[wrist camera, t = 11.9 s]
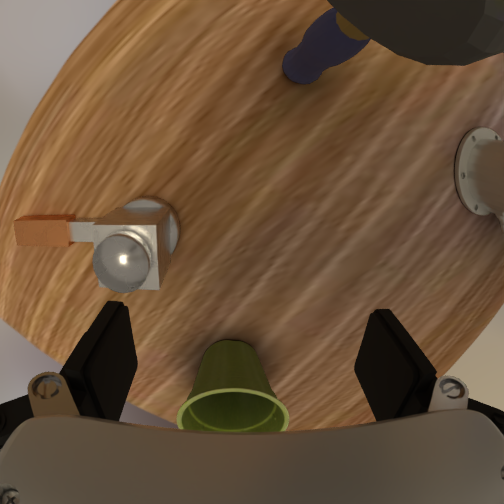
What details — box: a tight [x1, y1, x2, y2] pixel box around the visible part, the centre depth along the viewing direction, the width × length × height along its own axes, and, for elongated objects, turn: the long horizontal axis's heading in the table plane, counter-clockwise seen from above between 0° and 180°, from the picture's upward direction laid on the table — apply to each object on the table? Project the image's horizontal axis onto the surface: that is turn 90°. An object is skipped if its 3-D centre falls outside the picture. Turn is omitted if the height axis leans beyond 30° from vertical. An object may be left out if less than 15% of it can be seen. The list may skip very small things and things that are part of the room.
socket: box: [92, 207, 171, 293], centre depth 25 cm, size 6×6×8 cm
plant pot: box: [177, 340, 289, 432], centre depth 33 cm, size 12×12×11 cm
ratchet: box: [14, 196, 180, 254], centre depth 28 cm, size 20×7×6 cm, turn 87°
